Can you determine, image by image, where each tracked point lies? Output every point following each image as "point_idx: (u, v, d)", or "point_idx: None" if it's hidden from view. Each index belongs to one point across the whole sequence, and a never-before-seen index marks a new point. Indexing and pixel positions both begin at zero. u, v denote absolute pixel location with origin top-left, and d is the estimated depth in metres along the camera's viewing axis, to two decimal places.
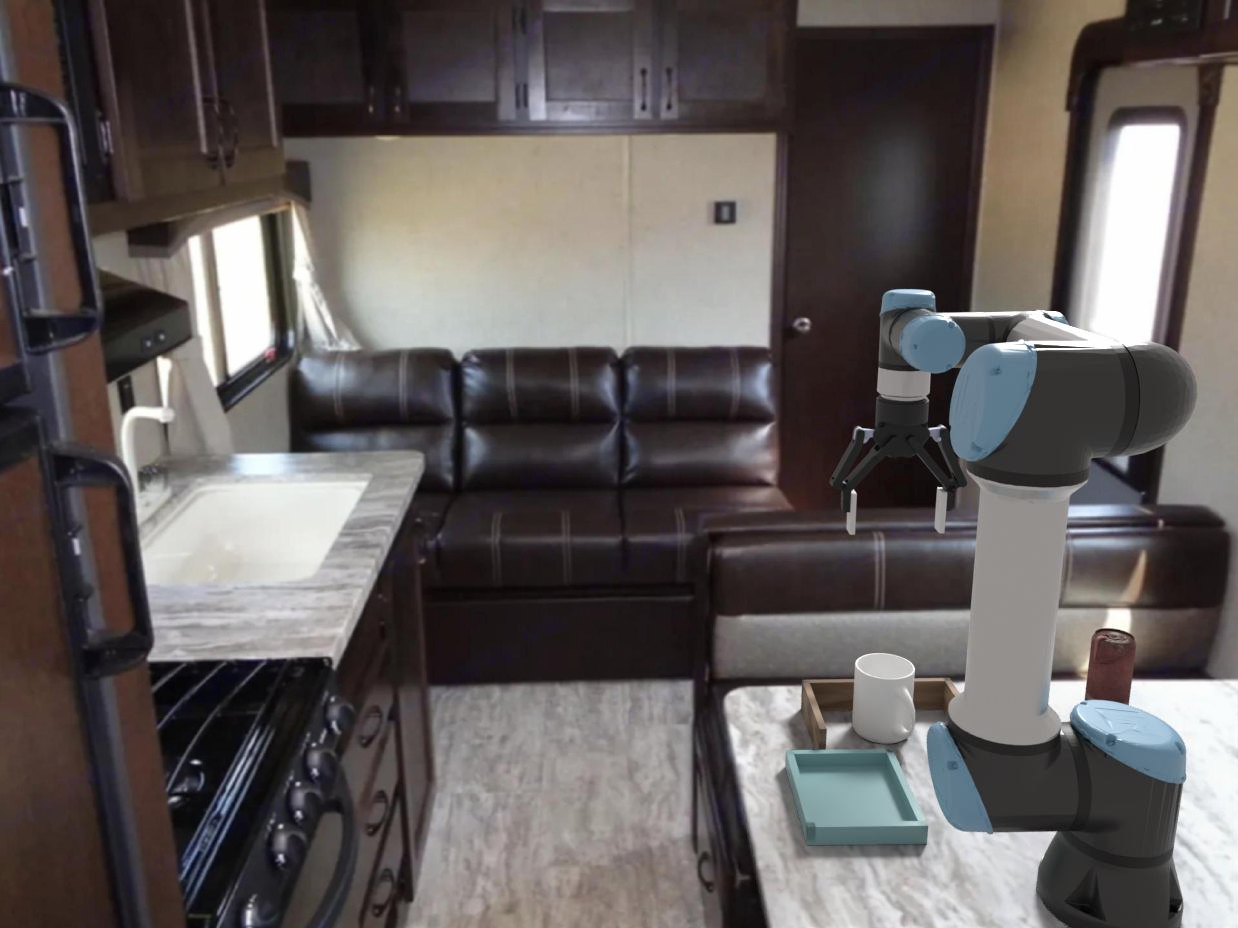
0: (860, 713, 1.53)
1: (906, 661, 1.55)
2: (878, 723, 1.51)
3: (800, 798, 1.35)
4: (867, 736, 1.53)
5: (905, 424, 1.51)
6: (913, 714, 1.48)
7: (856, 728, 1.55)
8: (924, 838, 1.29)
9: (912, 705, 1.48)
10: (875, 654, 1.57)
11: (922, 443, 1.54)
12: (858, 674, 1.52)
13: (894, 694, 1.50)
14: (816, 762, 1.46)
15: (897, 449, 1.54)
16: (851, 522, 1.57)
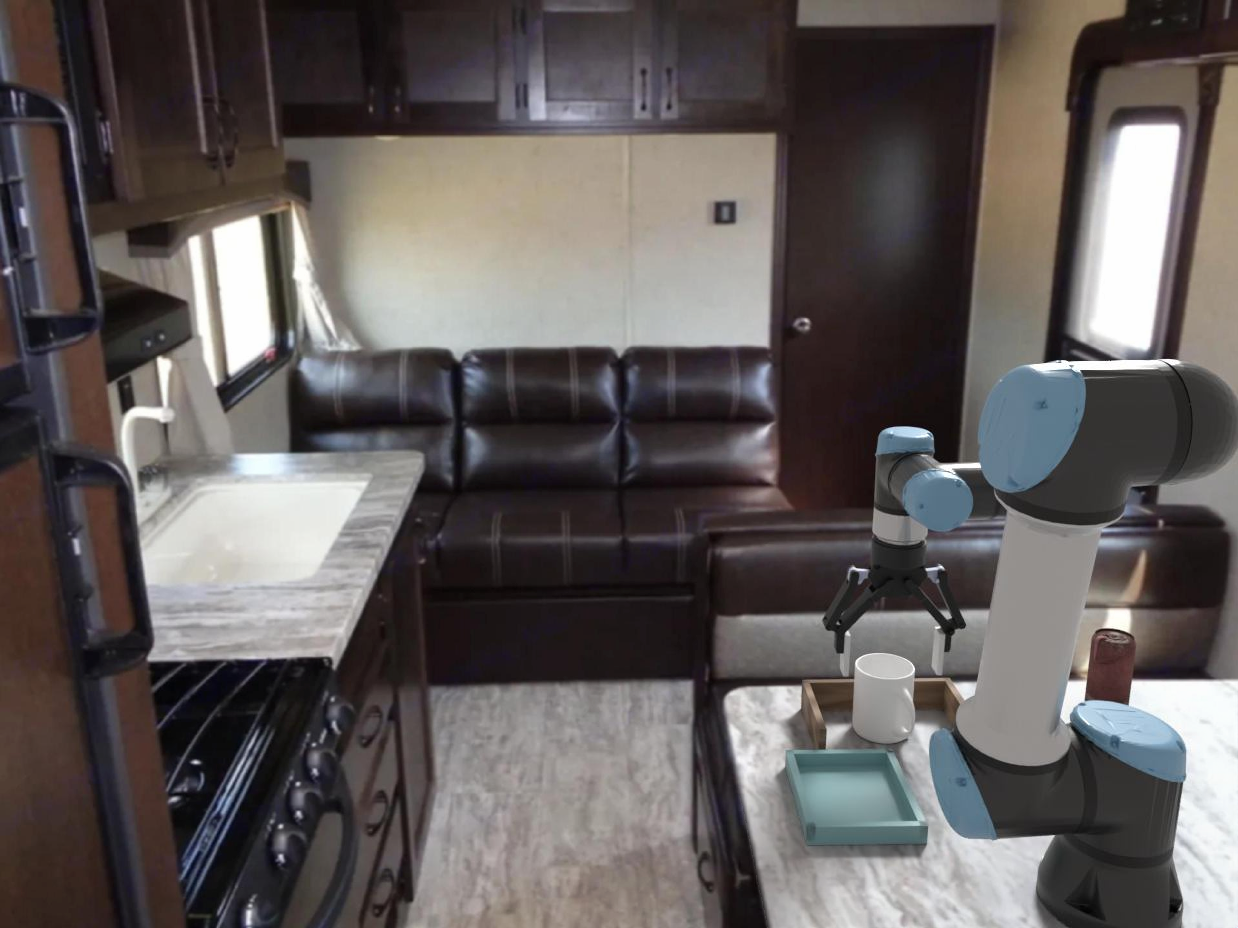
0: (860, 713, 1.53)
1: (906, 661, 1.55)
2: (878, 723, 1.51)
3: (800, 798, 1.35)
4: (867, 736, 1.53)
5: (901, 569, 1.44)
6: (913, 714, 1.48)
7: (856, 728, 1.55)
8: (924, 838, 1.29)
9: (912, 705, 1.48)
10: (875, 654, 1.57)
11: (919, 585, 1.47)
12: (858, 674, 1.52)
13: (894, 694, 1.50)
14: (816, 762, 1.46)
15: (893, 591, 1.47)
16: (845, 664, 1.50)
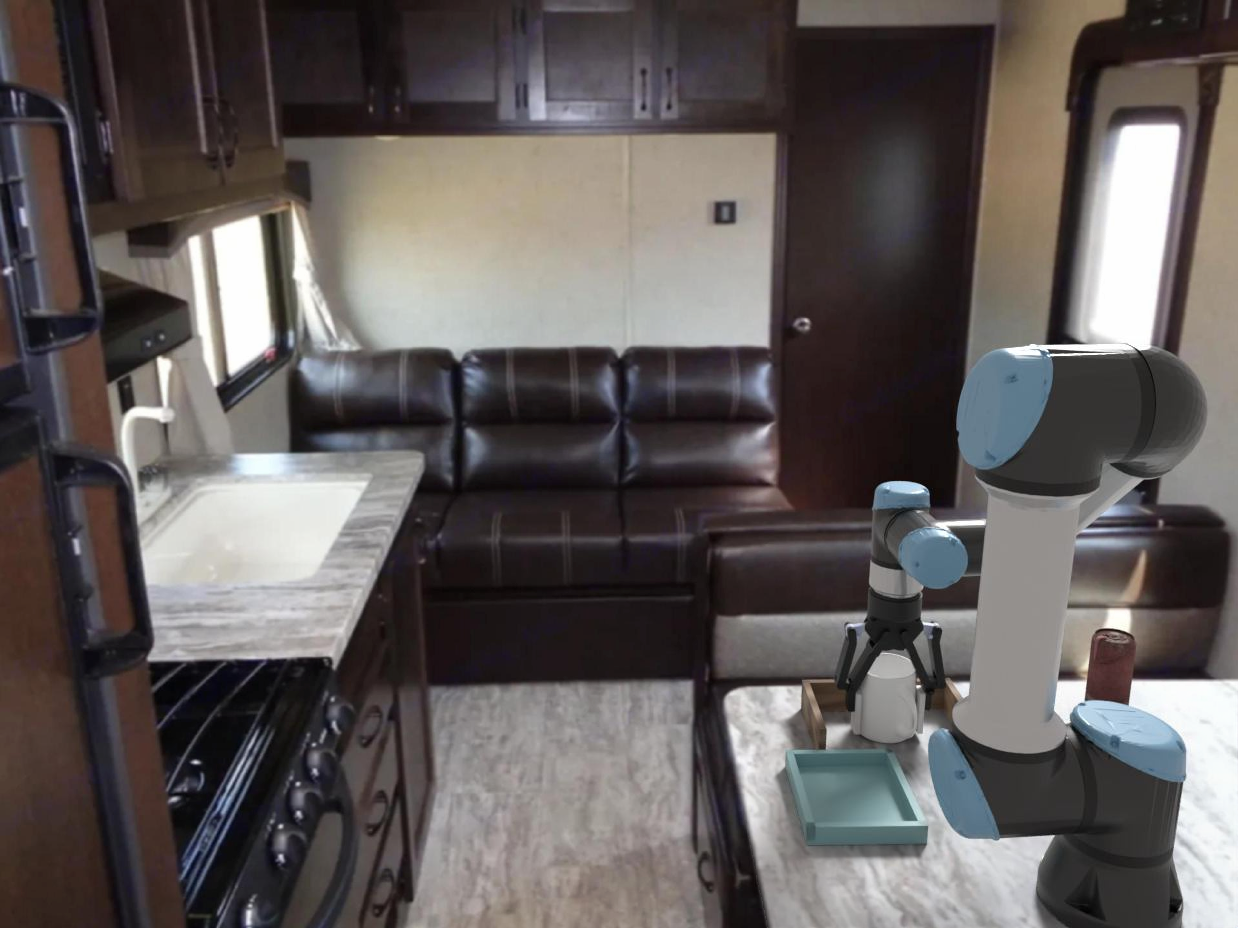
0: (862, 712, 1.53)
1: (909, 661, 1.55)
2: (880, 723, 1.51)
3: (800, 798, 1.35)
4: (869, 736, 1.53)
5: (898, 621, 1.46)
6: (915, 714, 1.48)
7: None
8: (924, 838, 1.29)
9: (914, 705, 1.48)
10: None
11: (915, 636, 1.49)
12: None
13: (896, 694, 1.50)
14: (816, 762, 1.46)
15: (889, 642, 1.49)
16: (856, 722, 1.53)
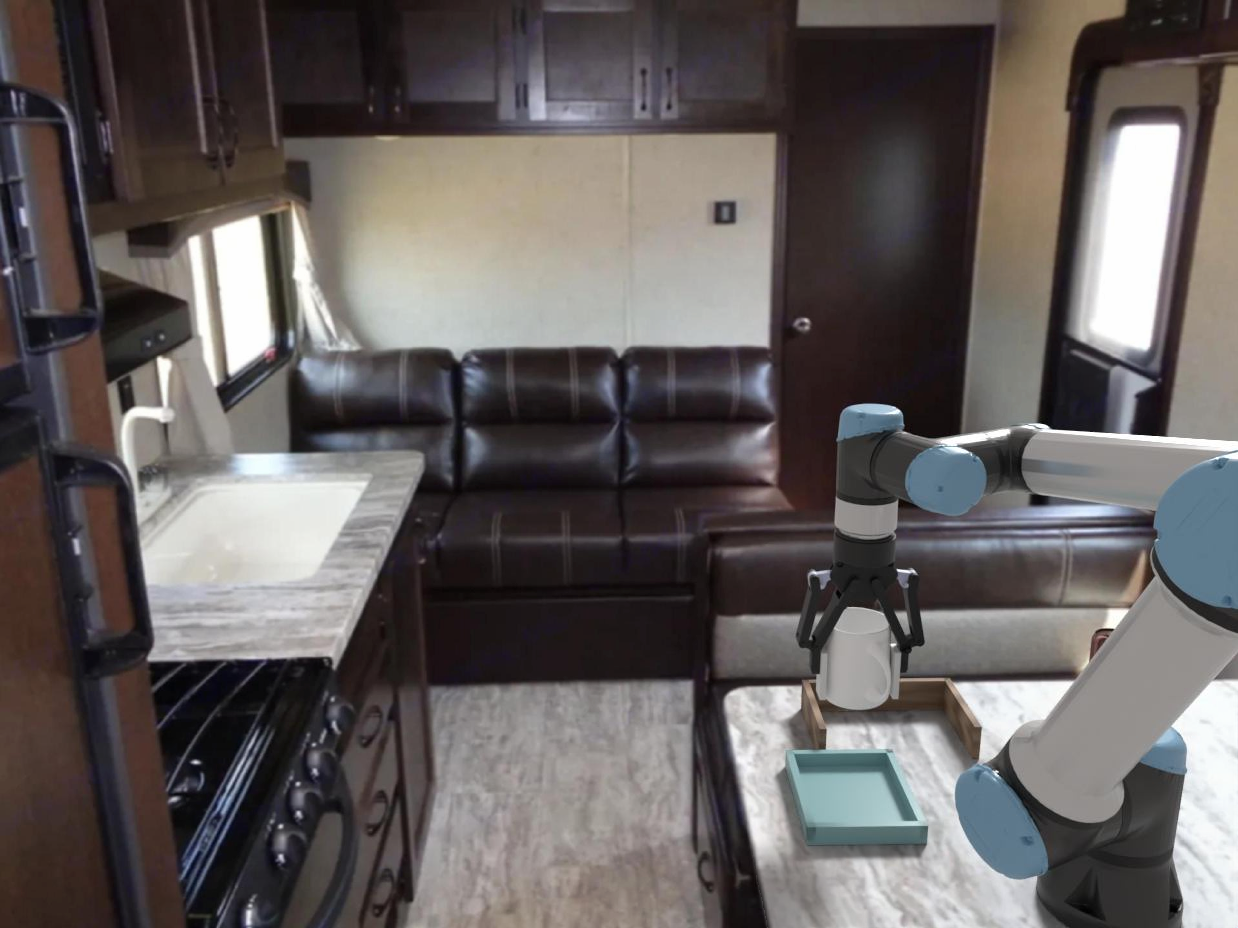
0: (829, 674, 1.33)
1: (882, 615, 1.35)
2: (849, 686, 1.31)
3: (800, 798, 1.35)
4: (837, 701, 1.33)
5: (867, 566, 1.25)
6: (888, 674, 1.27)
7: None
8: (924, 838, 1.29)
9: (887, 664, 1.27)
10: (847, 608, 1.37)
11: (888, 585, 1.29)
12: None
13: (867, 652, 1.29)
14: (816, 762, 1.46)
15: (859, 593, 1.29)
16: (821, 686, 1.32)
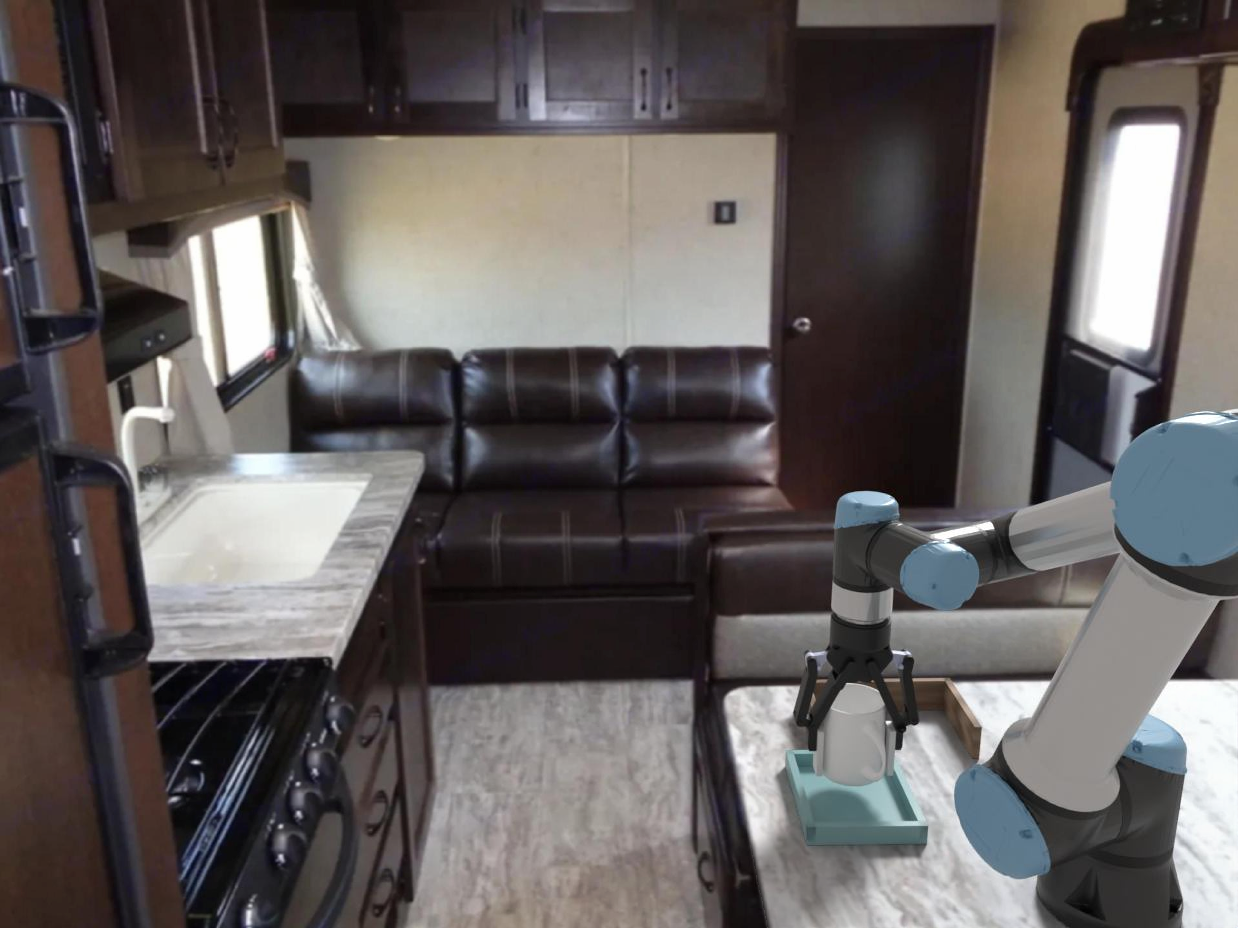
0: (825, 751, 1.36)
1: (878, 693, 1.38)
2: (845, 763, 1.34)
3: (800, 798, 1.35)
4: (833, 778, 1.36)
5: (863, 651, 1.28)
6: (883, 755, 1.30)
7: None
8: (924, 838, 1.29)
9: (882, 744, 1.30)
10: None
11: (884, 667, 1.32)
12: None
13: (862, 731, 1.32)
14: None
15: (855, 674, 1.32)
16: (818, 763, 1.35)
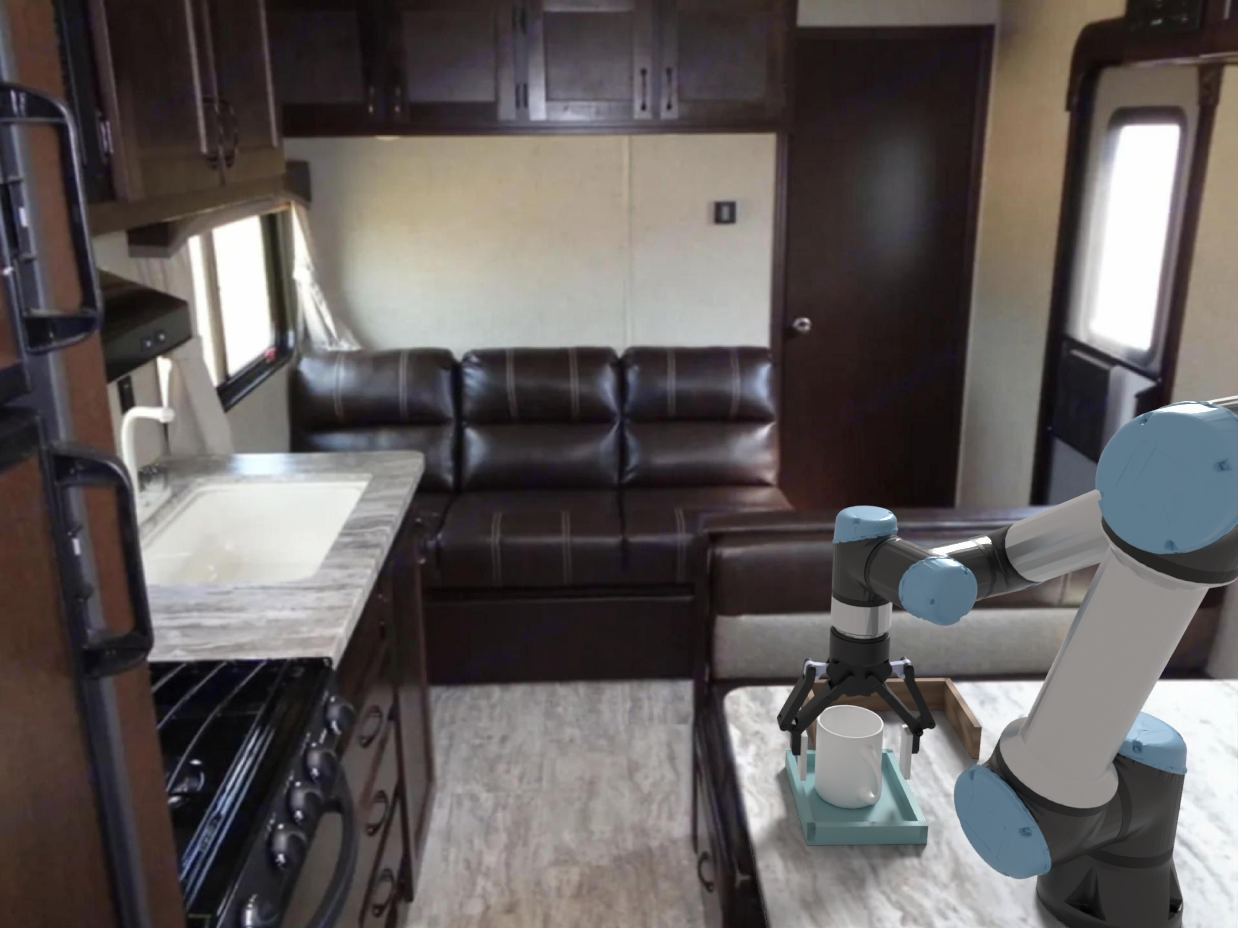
0: (822, 773, 1.36)
1: (875, 715, 1.38)
2: (841, 786, 1.35)
3: (800, 798, 1.35)
4: (830, 800, 1.36)
5: (862, 665, 1.29)
6: (880, 778, 1.31)
7: (818, 790, 1.38)
8: (924, 838, 1.29)
9: (879, 768, 1.31)
10: (841, 706, 1.41)
11: (883, 681, 1.32)
12: (819, 730, 1.36)
13: (859, 754, 1.33)
14: None
15: (854, 688, 1.33)
16: (802, 767, 1.35)
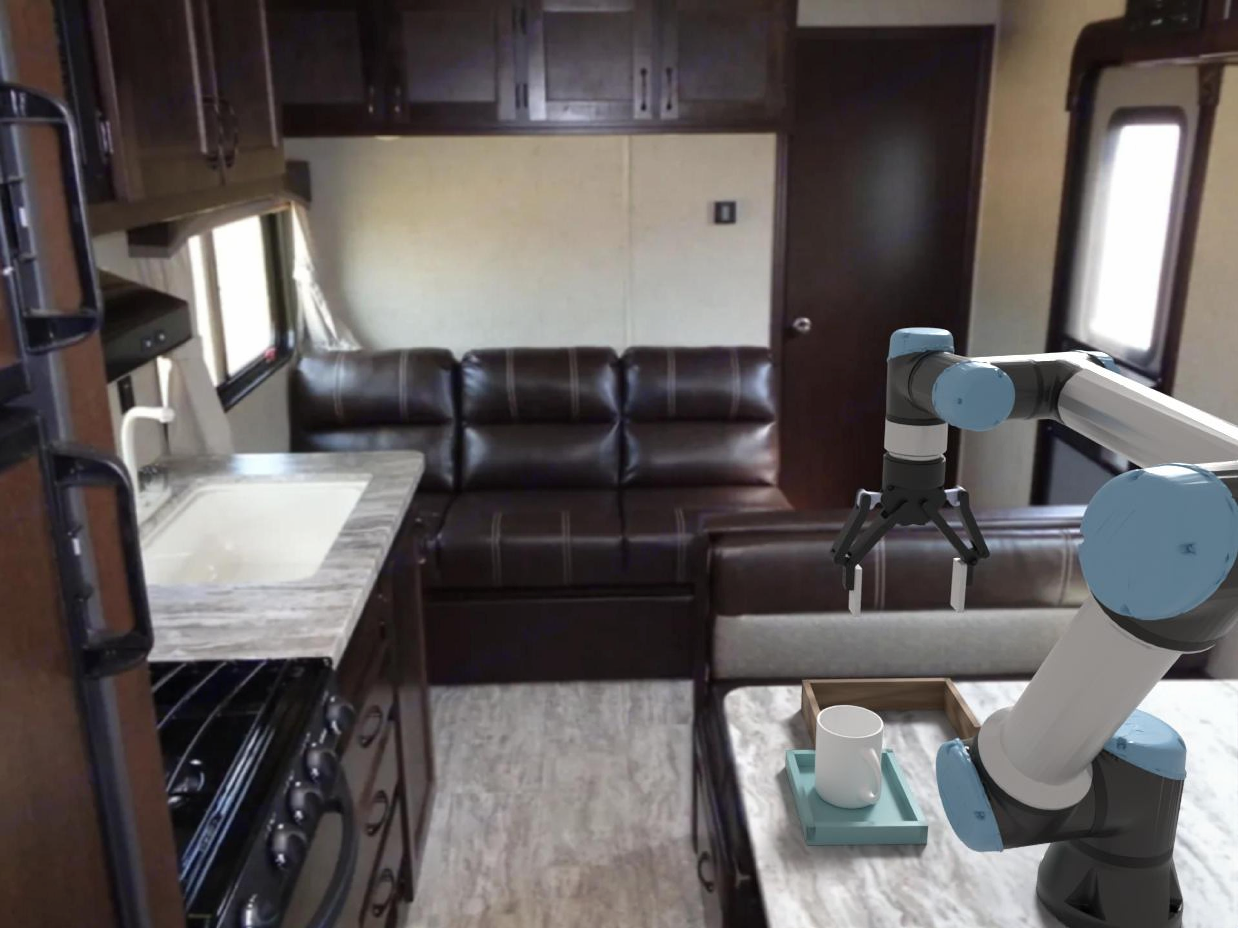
0: (822, 774, 1.36)
1: (874, 715, 1.38)
2: (841, 786, 1.35)
3: (800, 798, 1.35)
4: (830, 800, 1.36)
5: (920, 488, 1.27)
6: (879, 778, 1.31)
7: (818, 790, 1.38)
8: (924, 838, 1.29)
9: (878, 768, 1.31)
10: (840, 706, 1.41)
11: (938, 508, 1.30)
12: (819, 730, 1.36)
13: (859, 754, 1.33)
14: None
15: (909, 516, 1.30)
16: (855, 602, 1.33)
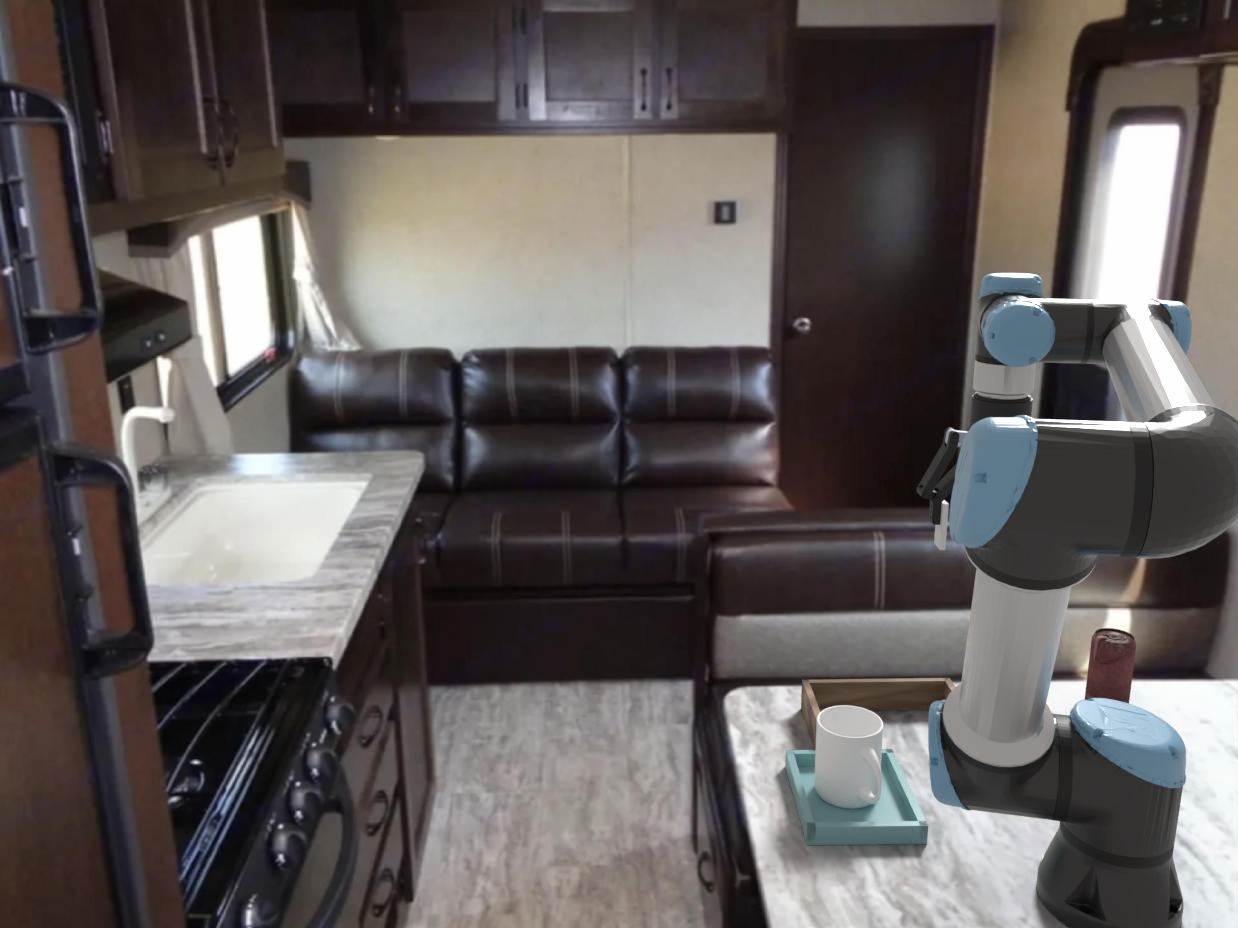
0: (822, 774, 1.36)
1: (874, 715, 1.38)
2: (841, 786, 1.35)
3: (800, 798, 1.35)
4: (830, 800, 1.36)
5: None
6: (879, 778, 1.31)
7: (818, 790, 1.38)
8: (924, 838, 1.29)
9: (878, 768, 1.31)
10: (840, 706, 1.41)
11: None
12: (819, 730, 1.36)
13: (859, 754, 1.33)
14: None
15: None
16: (941, 536, 1.39)
